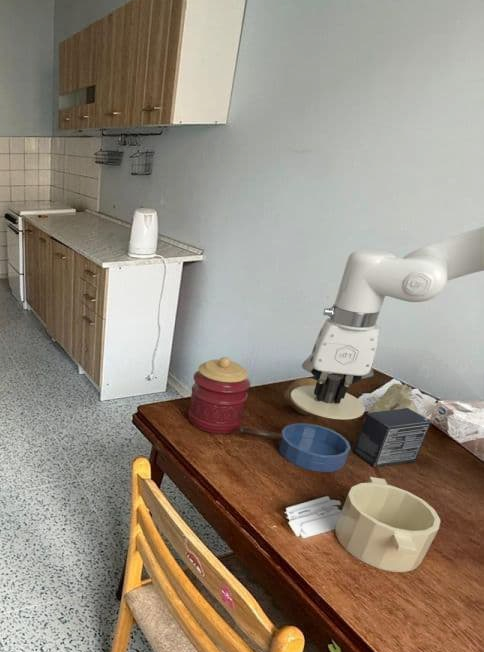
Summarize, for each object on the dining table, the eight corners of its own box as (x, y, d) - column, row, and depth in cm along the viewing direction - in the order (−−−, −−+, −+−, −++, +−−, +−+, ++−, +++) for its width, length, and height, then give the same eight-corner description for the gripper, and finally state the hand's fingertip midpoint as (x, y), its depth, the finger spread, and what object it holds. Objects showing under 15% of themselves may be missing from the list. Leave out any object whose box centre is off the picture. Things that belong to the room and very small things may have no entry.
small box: (391, 445, 109) (407, 406, 104) (416, 462, 103) (434, 421, 98) (351, 450, 107) (365, 411, 102) (374, 468, 102) (390, 427, 97)
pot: (402, 517, 88) (419, 481, 84) (438, 594, 74) (460, 555, 70) (327, 502, 92) (339, 468, 88) (345, 573, 78) (361, 535, 74)
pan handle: (282, 438, 108) (284, 432, 107) (283, 442, 107) (284, 436, 106) (237, 431, 111) (239, 425, 110) (237, 434, 110) (239, 429, 109)
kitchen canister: (203, 438, 113) (215, 372, 105) (178, 411, 124) (187, 349, 116) (251, 431, 115) (267, 366, 107) (222, 405, 126) (234, 344, 118)
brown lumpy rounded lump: (280, 417, 121) (289, 382, 116) (281, 402, 128) (289, 368, 123) (320, 425, 117) (331, 389, 112) (319, 408, 124) (329, 374, 119)
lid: (355, 395, 104) (364, 368, 101) (371, 427, 93) (382, 397, 90) (286, 386, 108) (293, 360, 105) (293, 415, 97) (301, 387, 94)
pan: (338, 443, 110) (343, 428, 108) (350, 477, 99) (356, 462, 97) (275, 433, 114) (279, 419, 112) (280, 465, 103) (285, 450, 101)
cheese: (392, 453, 110) (454, 414, 106) (373, 429, 109) (435, 389, 106) (358, 435, 124) (411, 401, 121) (341, 414, 124) (394, 379, 121)
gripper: (309, 318, 91) (287, 401, 99) (409, 327, 86) (376, 414, 94) (304, 306, 97) (283, 386, 106) (397, 314, 92) (367, 397, 101)
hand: (327, 398), depth 100 cm, fingers closed on lid, 2 cm apart
